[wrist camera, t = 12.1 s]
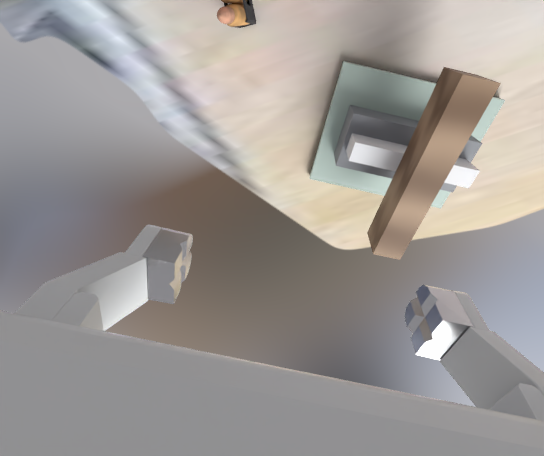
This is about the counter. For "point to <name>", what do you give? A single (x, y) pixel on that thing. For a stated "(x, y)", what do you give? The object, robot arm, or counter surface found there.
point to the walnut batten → (429, 158)
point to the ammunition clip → (237, 13)
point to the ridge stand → (383, 131)
